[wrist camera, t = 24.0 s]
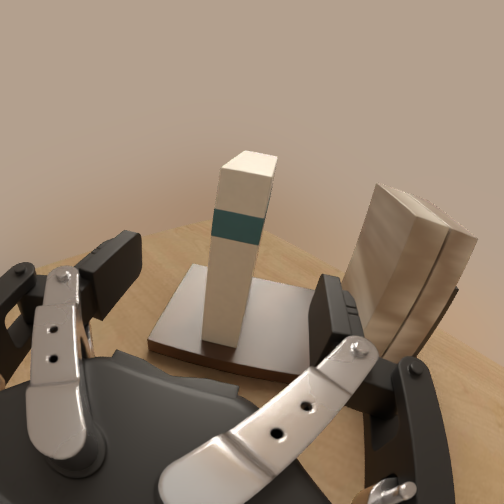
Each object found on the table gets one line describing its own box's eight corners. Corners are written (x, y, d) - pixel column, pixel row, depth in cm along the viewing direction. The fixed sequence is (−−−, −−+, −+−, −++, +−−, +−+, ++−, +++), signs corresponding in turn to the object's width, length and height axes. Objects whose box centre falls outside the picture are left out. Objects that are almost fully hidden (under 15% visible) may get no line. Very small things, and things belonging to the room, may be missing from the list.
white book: (251, 285, 26) (278, 156, 20) (236, 348, 19) (272, 177, 13) (223, 279, 26) (244, 150, 20) (200, 340, 19) (219, 166, 13)
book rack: (390, 313, 27) (439, 202, 21) (418, 392, 17) (509, 257, 11) (191, 273, 28) (205, 141, 22) (148, 350, 18) (142, 162, 12)
